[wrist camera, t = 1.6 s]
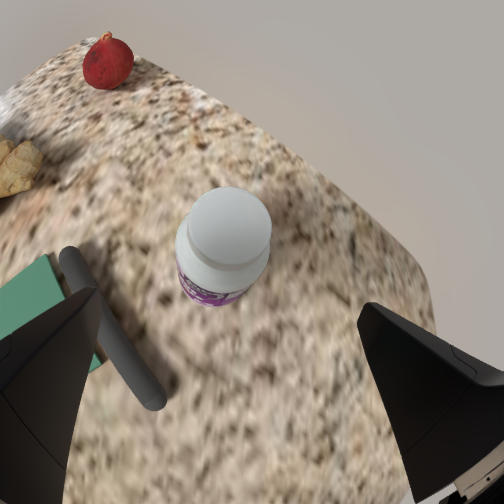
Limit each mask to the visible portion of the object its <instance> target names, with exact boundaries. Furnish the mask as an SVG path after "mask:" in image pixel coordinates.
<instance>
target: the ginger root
mask: <svg viewBox="0 0 504 504" xmlns="http://www.w3.org/2000/svg"><path fill="white" fill-rule="evenodd" d="M42 159H43V155H42V153H41V152H40V150H39V149H37V148H36V147H34V145H33V143H32V141H29V140H27V141H25V142H23V143H22V144H20V145H19V146H18V147H17V148H16V147H15V145H14V141H10V140H9V139H5V137H4V136H3V135H0V198H3V197H6V196H10V195H14V194H17V193H19V192H22V191H27V190H30V189H32V187H33V185H34V180H33V178H34V176H35V175H36V173H37V172H38V171H39V169H40V168H41V162H42Z"/></svg>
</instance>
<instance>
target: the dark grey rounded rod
mask: <svg viewBox="0 0 504 504" xmlns="http://www.w3.org/2000/svg"><path fill="white" fill-rule="evenodd" d="M59 264H60V266H61V269H62V271H63V273H64V275H65V277H66V280H67V282H68V284H69V286H70V288H71V290H72V292H73V294H74V293H76V292H77V291H79V290H81V289H82V288H84V287H86V286H90V287H97V288H98V286H97V284H96V282H95V281H94V279H93V277H92V275H91V273H90V271H89V269H88V267H87V265H86V263H85V261H84V259H83V257H82V255H81V253H80V251H79V250H78V249H77V248H76V247H73V246H67V247H65V248H64V249H62V251H61V252H60V254H59ZM98 289H99V288H98ZM99 291H100V290H99ZM100 298H101V304H102V318H101V322H100V327H99V331H98V336H97V339H98V340H99V342H100V344H101V345H102V347H103V349H104V350H105V352H106V353H107V355H108V357H109V358H110V360H111V361H112V363H113V364H114V366H115V367H116V369H117V370H118V372H119V373H120V375H121V376H122V378H123V379H124V381H125V382H126V384H127V385H128V386H129V388H130V389H131V391H132V392H133V393H134V395H135V396H136V397H137V399H138V400H139V401H140V403H141V404H142V405H143V406H144V407H145V408H146V409H148V410H151V411H158V410H161V409H162V408H164V407H165V405H166V403H167V394H166V392H165V390H164V389H163V388H162V386H161V385H160V384H159V382H158V381H157V380H156V378H155V377H154V376H153V374H152V373H151V371H150V370H149V369H148V367H147V366H146V364H145V363H144V361H143V360H142V358H141V357H140V356H139V354H138V353H137V351H136V350H135V348H134V347H133V345H132V344H131V342H130V340H129V339H128V337H127V336H126V334H125V333H124V331H123V329H122V328H121V326H120V325H119V323H118V321H117V320H116V318H115V316H114V315H113V313H112V311H111V309H110V308H109V306H108V304H107V302H106V301H105V299H104V297H103V295H102V294H101V292H100Z"/></svg>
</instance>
